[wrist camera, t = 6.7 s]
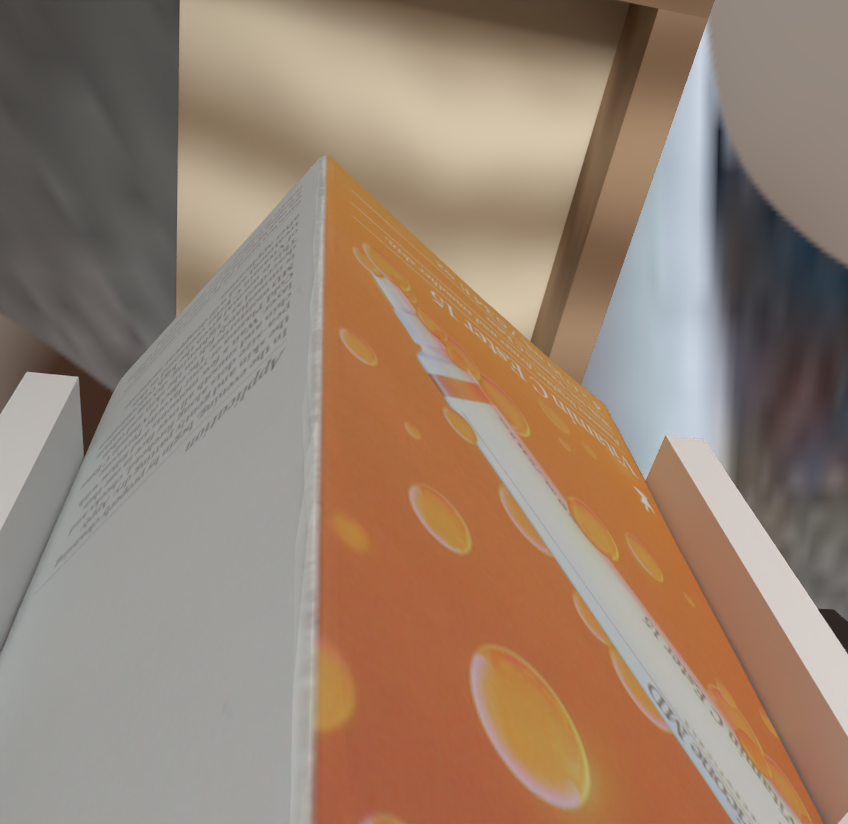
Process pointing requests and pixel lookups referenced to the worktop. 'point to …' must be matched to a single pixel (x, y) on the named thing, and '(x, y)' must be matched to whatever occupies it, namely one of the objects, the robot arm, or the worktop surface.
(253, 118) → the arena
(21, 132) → the worktop surface
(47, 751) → the small box
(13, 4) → the worktop surface
